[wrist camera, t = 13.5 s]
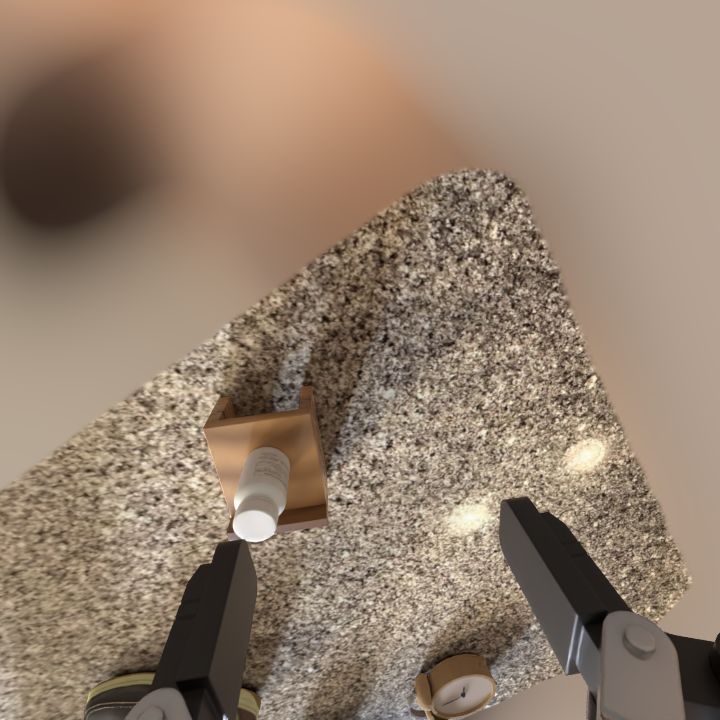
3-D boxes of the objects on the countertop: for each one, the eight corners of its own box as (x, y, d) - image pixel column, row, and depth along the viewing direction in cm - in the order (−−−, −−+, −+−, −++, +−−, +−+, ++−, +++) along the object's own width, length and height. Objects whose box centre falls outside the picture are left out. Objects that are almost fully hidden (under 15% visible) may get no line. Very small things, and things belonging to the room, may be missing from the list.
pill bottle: (264, 488, 38) (250, 554, 31) (235, 460, 36) (214, 522, 29) (299, 467, 37) (294, 530, 30) (272, 437, 36) (259, 495, 28)
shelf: (218, 397, 40) (195, 441, 33) (311, 385, 40) (309, 425, 33) (244, 485, 45) (228, 540, 37) (327, 473, 45) (328, 525, 38)
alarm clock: (505, 698, 63) (427, 748, 61) (488, 667, 67) (415, 712, 66) (487, 663, 58) (403, 716, 57) (471, 632, 63) (392, 680, 61)
